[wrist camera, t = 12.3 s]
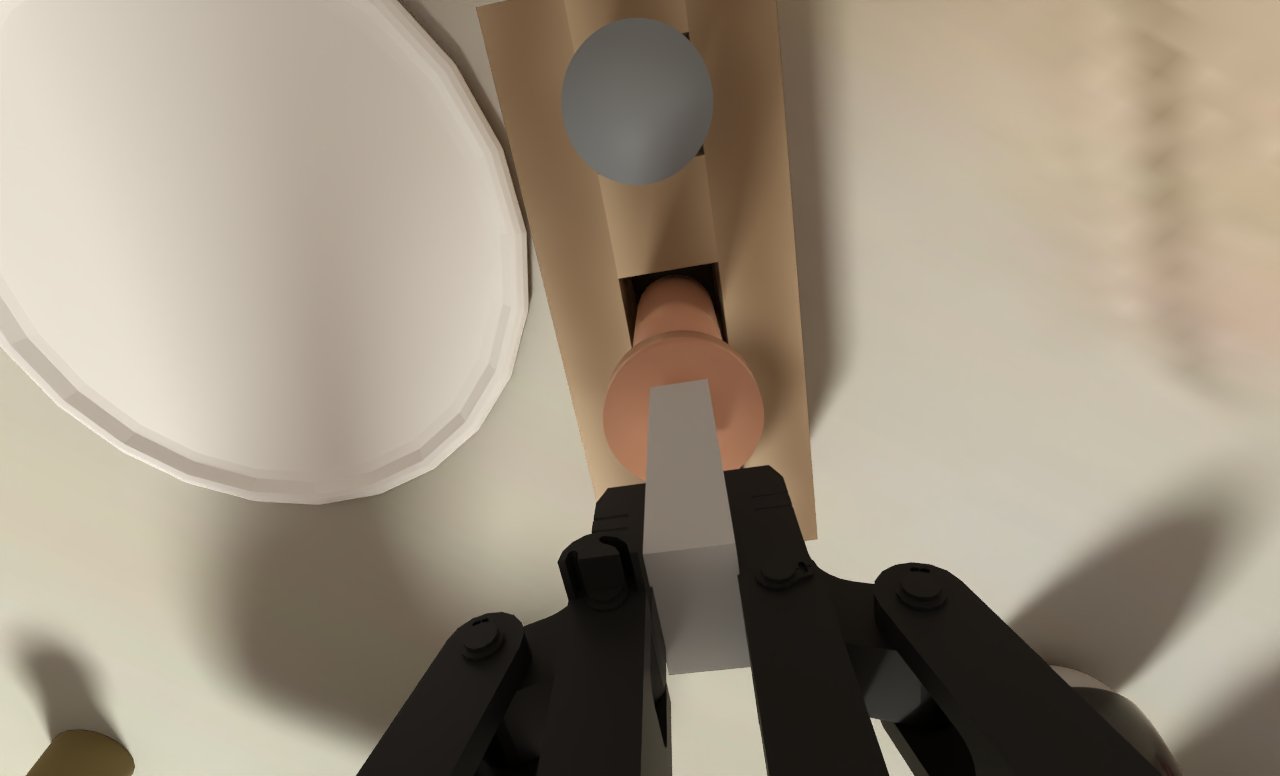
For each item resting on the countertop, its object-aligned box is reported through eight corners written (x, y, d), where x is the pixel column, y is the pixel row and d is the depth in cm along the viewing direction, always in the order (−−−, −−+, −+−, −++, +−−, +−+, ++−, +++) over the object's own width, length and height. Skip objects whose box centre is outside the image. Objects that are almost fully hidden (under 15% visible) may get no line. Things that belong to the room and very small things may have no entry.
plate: (270, 570, 40) (259, 583, 38) (-184, 173, 30) (-217, 176, 29) (647, 324, 32) (646, 332, 31) (200, -299, 23) (176, -321, 22)
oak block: (619, 495, 36) (612, 564, 31) (513, 28, 27) (475, 7, 21) (792, 472, 35) (817, 539, 30) (748, -22, 26) (771, -57, 20)
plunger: (605, 168, 28) (579, 196, 19) (585, 61, 26) (545, 35, 17) (701, 150, 28) (722, 170, 19) (687, 40, 26) (702, 2, 17)
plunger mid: (633, 367, 27) (619, 498, 18) (613, 269, 25) (587, 359, 16) (733, 352, 27) (771, 478, 18) (720, 251, 25) (755, 332, 16)
